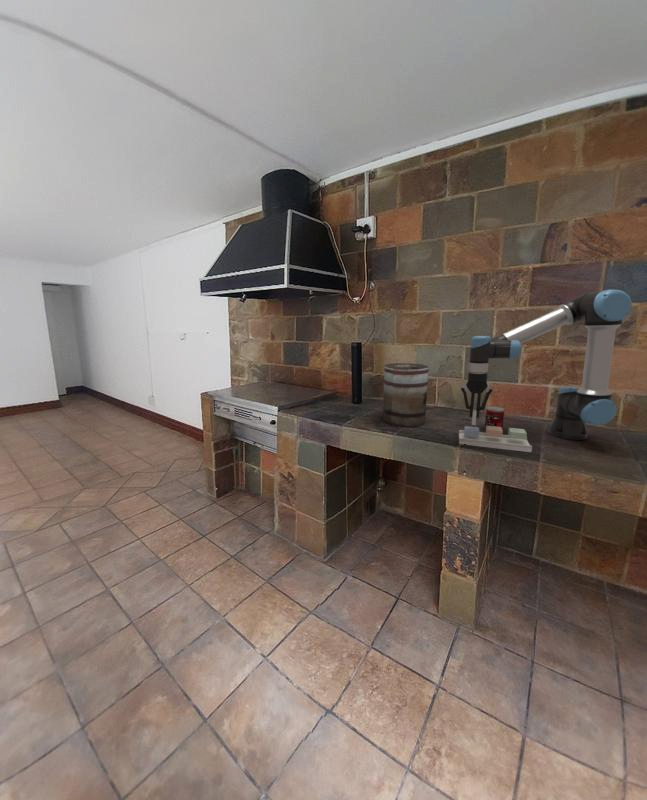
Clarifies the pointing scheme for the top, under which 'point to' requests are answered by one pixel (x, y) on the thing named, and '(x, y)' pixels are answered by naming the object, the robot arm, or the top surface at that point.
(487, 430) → the key
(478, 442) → the keypad base
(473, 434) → the key
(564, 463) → the top surface
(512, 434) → the key
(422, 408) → the barrel
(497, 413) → the canned food
